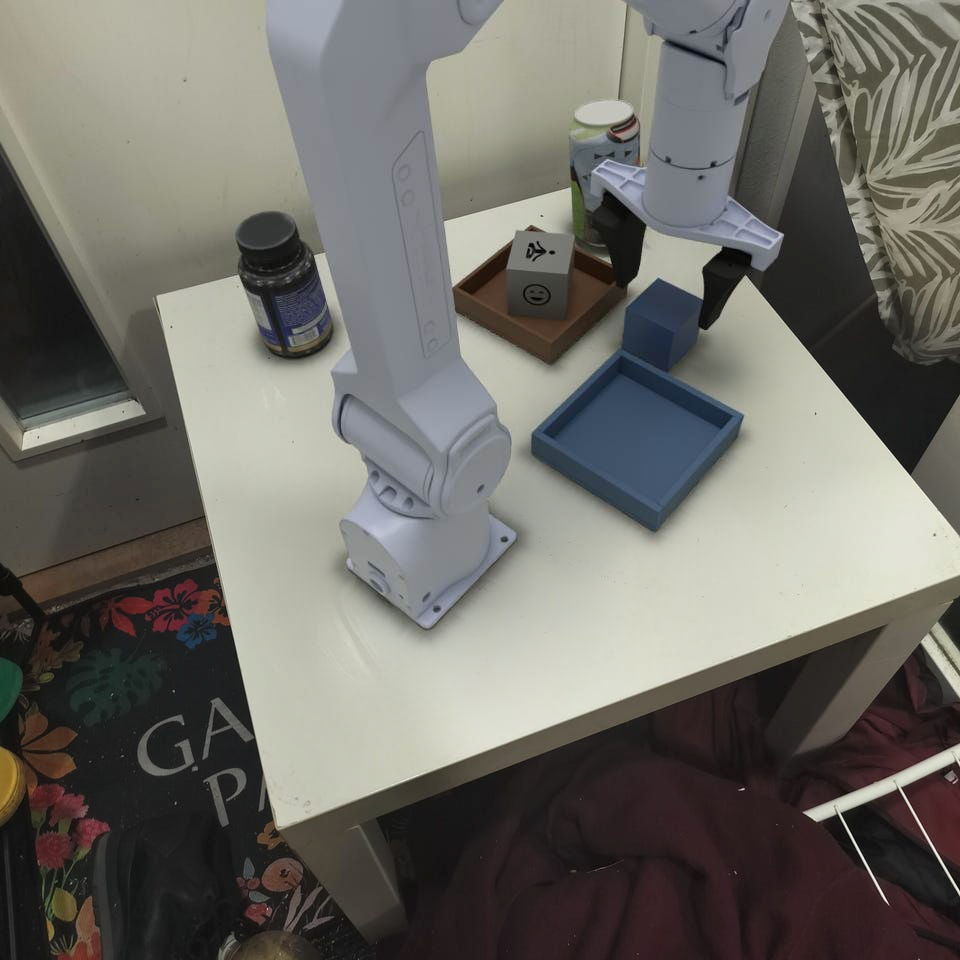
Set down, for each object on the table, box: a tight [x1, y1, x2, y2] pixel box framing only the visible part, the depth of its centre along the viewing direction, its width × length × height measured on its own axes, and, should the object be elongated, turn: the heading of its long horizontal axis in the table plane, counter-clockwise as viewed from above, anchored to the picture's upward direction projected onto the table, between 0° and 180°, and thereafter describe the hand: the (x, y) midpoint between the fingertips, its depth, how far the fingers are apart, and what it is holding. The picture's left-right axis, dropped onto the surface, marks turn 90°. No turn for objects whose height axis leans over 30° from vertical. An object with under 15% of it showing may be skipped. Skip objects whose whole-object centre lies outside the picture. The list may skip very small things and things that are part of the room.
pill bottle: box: [234, 210, 334, 357], centre depth 68 cm, size 6×6×11 cm
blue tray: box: [530, 347, 745, 533], centre depth 63 cm, size 11×11×2 cm
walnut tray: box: [452, 224, 629, 366], centre depth 73 cm, size 11×11×2 cm
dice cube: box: [506, 229, 576, 320], centre depth 71 cm, size 5×5×5 cm
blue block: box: [620, 277, 703, 373], centre depth 68 cm, size 4×4×4 cm
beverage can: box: [567, 98, 641, 248], centre depth 74 cm, size 6×7×12 cm
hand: (666, 301), depth 66 cm, fingers open, 7 cm apart
